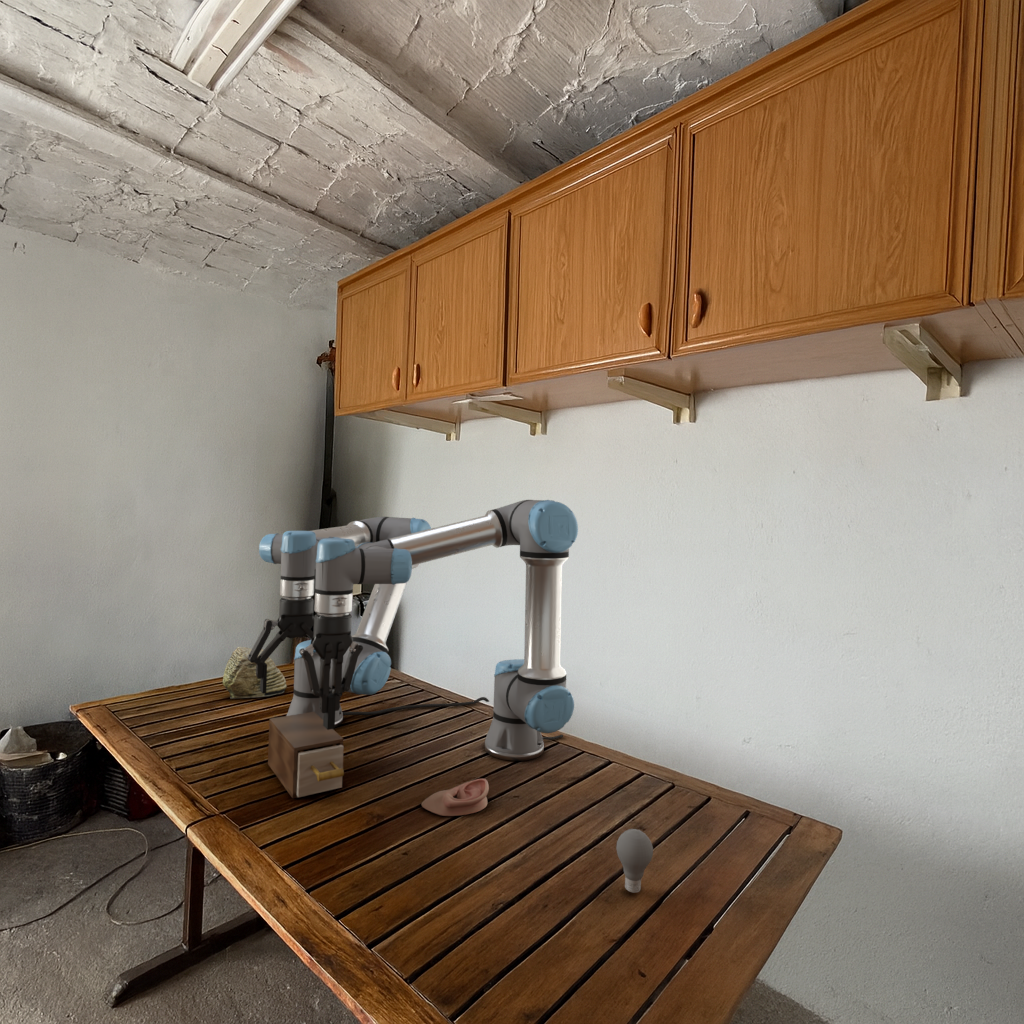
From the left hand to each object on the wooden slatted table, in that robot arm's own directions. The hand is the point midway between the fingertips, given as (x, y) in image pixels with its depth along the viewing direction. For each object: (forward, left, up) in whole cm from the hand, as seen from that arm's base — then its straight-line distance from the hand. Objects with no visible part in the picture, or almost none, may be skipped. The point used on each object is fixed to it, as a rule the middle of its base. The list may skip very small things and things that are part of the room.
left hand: (293, 688), depth 148 cm
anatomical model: (-13, +41, -18) cm, 46 cm away
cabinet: (+1, +6, -18) cm, 19 cm away
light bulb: (-12, +83, -18) cm, 85 cm away
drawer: (+2, +12, -18) cm, 21 cm away
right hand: (+5, +21, -3) cm, 22 cm away
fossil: (-21, -54, -18) cm, 61 cm away
